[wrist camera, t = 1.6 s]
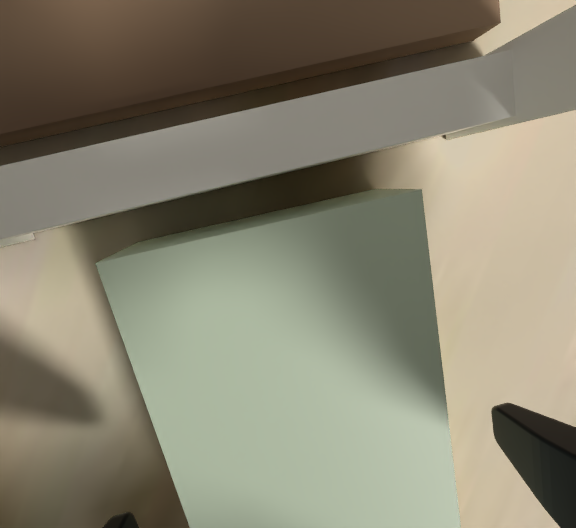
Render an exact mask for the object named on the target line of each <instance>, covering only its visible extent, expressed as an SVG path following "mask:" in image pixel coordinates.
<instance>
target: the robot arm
mask: <svg viewBox="0 0 576 528" xmlns="http://www.w3.org/2000/svg"><path fill="white" fill-rule="evenodd" d="M492 422H493V431H494V436H495V439H496V441H497V443H498V445H499V446H500V448H501V449H502V450H503V452H504V453H505V455H506V456H507V457H508V459H509V460H510V462H511V463H512V464H513V466H514V467H515V469H516V470H517V471H518V473H519V474H520V476H521V477H522V478H523V480H524V481H525V483H526V484H527V485H528V487H529V488H530V489H531V491H532V492H533V494H534V495H535V496H536V498H537V499H538V500H539V502H540V503H541V504H542V506H543V507H544V508H545V510H546V511H547V512H548V513H549V514H550V516H551V517H552V518H553V519H554V520H555V522H556V523H557V524H558V525H559V526H560V528H576V427H573V426H571V425H568V424H565V423H563V422H560V421H557V420H555V419H552V418H549V417H546V416H544V415H541V414H538V413H536V412H533V411H530V410H528V409H525V408H522V407H520V406H517V405H514V404H511V403H504V404H500V405H497V406H494V407H493V408H492ZM103 528H139V526H138V524H137V522H136V520H135V517H134V515H133V514H132V513H131V512H126V513H122V514H119V515H115V516H113V517H112V518H111V519H110V520H109V521H108V522H107V523H106V524H105V525H104V527H103Z"/></svg>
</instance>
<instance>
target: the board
mask: <svg viewBox="0 0 576 528" xmlns="http://www.w3.org/2000/svg"><path fill="white" fill-rule="evenodd" d="M95 264H96V267H97V270H98V272H99V275H100V278H101V281H102V283H103V286H104V289H105V292H106V295H107V297H108V300H109V303H110V306H111V309H112V311H113V314H114V317H115V320H116V323H117V325H118V328H119V331H120V334H121V337H122V339H123V342H124V345H125V348H126V351H127V353H128V356H129V359H130V362H131V365H132V367H133V370H134V373H135V376H136V379H137V381H138V384H139V387H140V390H141V393H142V395H143V398H144V401H145V404H146V407H147V409H148V412H149V415H150V418H151V421H152V423H153V426H154V429H155V432H156V435H157V437H158V440H159V443H160V446H161V448H162V451H163V454H164V457H165V460H166V462H167V465H168V468H169V471H170V474H171V476H172V479H173V482H174V485H175V488H176V490H177V493H178V496H179V499H180V502H181V504H182V507H183V510H184V513H185V516H186V518H187V521H188V524H189V527H190V528H461V524H460V515H459V507H458V498H457V489H456V481H455V472H454V464H453V455H452V446H451V438H450V429H449V421H448V412H447V403H446V395H445V386H444V377H443V369H442V360H441V352H440V343H439V334H438V326H437V317H436V308H435V300H434V291H433V283H432V274H431V265H430V257H429V248H428V239H427V231H426V222H425V214H424V205H423V196H422V190H421V189H373V190H368V191H364V192H359V193H355V194H350V195H346V196H341V197H337V198H332V199H328V200H324V201H319V202H315V203H310V204H306V205H301V206H297V207H292V208H288V209H283V210H279V211H274V212H270V213H265V214H261V215H257V216H252V217H248V218H243V219H239V220H234V221H230V222H225V223H221V224H216V225H212V226H207V227H203V228H199V229H194V230H190V231H185V232H181V233H176V234H172V235H167V236H163V237H158V238H154V239H149V240H145V241H140V242H137V243H135V244H133V245H131V246H129V247H127V248H125V249H123V250H121V251H119V252H117V253H115V254H113V255H111V256H109V257H107V258H105V259H103V260H101V261H99V262H97V263H95Z"/></svg>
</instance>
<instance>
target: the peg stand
mask: <svg viewBox="0 0 576 528" xmlns="http://www.w3.org/2000/svg"><path fill="white" fill-rule="evenodd" d="M499 23H501V22H500V8H499V0H0V147H2V146H6V145H11V144H15V143H20V142H24V141H29V140H33V139H38V138H42V137H47V136H51V135H55V134H60V133H64V132H69V131H73V130H78V129H82V128H87V127H91V126H96V125H100V124H105V123H109V122H113V121H118V120H122V119H127V118H131V117H136V116H140V115H145V114H149V113H154V112H158V111H162V110H167V109H171V108H176V107H180V106H185V105H189V104H194V103H198V102H203V101H207V100H211V99H216V98H220V97H225V96H229V95H234V94H238V93H243V92H247V91H252V90H256V89H260V88H265V87H269V86H274V85H278V84H283V83H287V82H292V81H296V80H301V79H305V78H309V77H314V76H318V75H323V74H327V73H332V72H336V71H341V70H345V69H350V68H354V67H358V66H363V65H367V64H372V63H376V62H381V61H385V60H390V59H394V58H399V57H403V56H407V55H412V54H416V53H421V52H425V51H430V50H434V49H439V48H443V47H448V46H452V45H456V44H461V43H465V42H470V41H473V40H475V39H476V38H478V37H479V36H481V35H483V34H484V33H486V32H487V31H489V30H490V29H492V28H493V27H495V26H496V25H498V24H499Z"/></svg>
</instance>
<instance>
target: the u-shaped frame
mask: <svg viewBox="0 0 576 528" xmlns="http://www.w3.org/2000/svg"><path fill="white" fill-rule="evenodd" d="M572 110H576V5H575V6H573V7H571V8H569V9H567V10H566V11H564V12H562V13H560V14H558V15H557V16H555V17H553V18H551V19H549V20H548V21H546V22H544V23H542V24H540V25H539V26H537V27H535V28H533V29H531V30H530V31H528V32H526V33H524V34H522V35H521V36H519V37H517V38H515V39H513V40H512V41H510V42H508V43H506V44H505V45H503V46H501V47H499V48H497V49H496V50H494V51H492V52H490V53H488V54H487V55H485V56H482V57H477V58H473V59H468V60H464V61H460V62H455V63H451V64H446V65H442V66H438V67H433V68H429V69H424V70H420V71H416V72H411V73H407V74H402V75H398V76H394V77H389V78H385V79H380V80H376V81H372V82H367V83H363V84H358V85H354V86H350V87H345V88H341V89H336V90H332V91H328V92H323V93H319V94H314V95H310V96H306V97H301V98H297V99H292V100H288V101H284V102H279V103H275V104H270V105H266V106H262V107H257V108H253V109H249V110H244V111H240V112H235V113H231V114H227V115H222V116H218V117H213V118H209V119H205V120H200V121H196V122H191V123H187V124H183V125H178V126H174V127H169V128H165V129H161V130H156V131H152V132H147V133H143V134H139V135H134V136H130V137H125V138H121V139H117V140H112V141H108V142H103V143H99V144H95V145H90V146H86V147H81V148H77V149H73V150H68V151H64V152H59V153H55V154H51V155H46V156H42V157H37V158H33V159H29V160H24V161H20V162H15V163H11V164H7V165H2V166H0V248H1V247H5V246H9V245H13V244H17V243H21V242H25V241H29V240H33V239H35V237H34V235H33V233H36V232H40V231H45V230H49V229H53V228H57V227H61V226H65V225H70V224H74V223H78V222H82V221H86V220H90V219H95V218H99V217H103V216H107V215H111V214H116V213H120V212H124V211H128V210H132V209H136V208H141V207H145V206H149V205H153V204H157V203H162V202H166V201H170V200H174V199H178V198H182V197H187V196H191V195H195V194H199V193H203V192H208V191H212V190H216V189H220V188H224V187H228V186H233V185H237V184H241V183H245V182H249V181H253V180H258V179H262V178H266V177H270V176H274V175H279V174H283V173H287V172H291V171H295V170H299V169H304V168H308V167H312V166H316V165H320V164H325V163H329V162H333V161H337V160H341V159H345V158H350V157H354V156H358V155H362V154H366V153H371V152H375V151H379V150H383V149H387V148H391V147H396V146H400V145H404V144H408V143H412V142H416V141H421V140H425V139H429V138H433V137H437V136H442V135H446V140H450V139H454V138H458V137H462V136H466V135H471V134H475V133H479V132H483V131H488V130H492V129H496V128H500V127H505V126H509V125H513V124H517V123H521V122H526V121H530V120H534V119H538V118H543V117H547V116H551V115H555V114H560V113H564V112H568V111H572Z"/></svg>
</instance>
